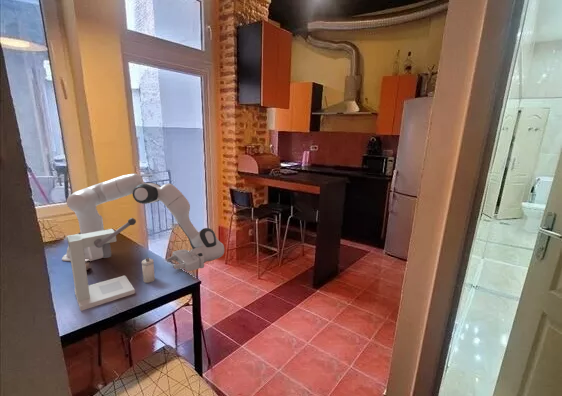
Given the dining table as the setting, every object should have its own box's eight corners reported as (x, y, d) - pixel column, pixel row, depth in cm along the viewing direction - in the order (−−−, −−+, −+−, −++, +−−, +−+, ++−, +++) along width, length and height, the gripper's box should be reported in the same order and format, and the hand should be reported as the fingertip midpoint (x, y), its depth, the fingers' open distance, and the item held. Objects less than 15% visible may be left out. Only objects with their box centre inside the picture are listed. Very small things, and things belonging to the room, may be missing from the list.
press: (133, 276, 140) (126, 210, 132) (143, 290, 128) (137, 219, 121) (75, 293, 125) (63, 219, 117) (80, 310, 113) (68, 230, 105)
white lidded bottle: (141, 283, 135) (139, 260, 132) (145, 277, 140) (143, 255, 137) (153, 282, 135) (151, 260, 133) (156, 277, 140) (154, 255, 138)
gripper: (187, 244, 159) (162, 251, 150) (204, 257, 144) (178, 265, 135) (188, 255, 161) (163, 262, 151) (205, 268, 146) (178, 277, 137)
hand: (170, 263), depth 143 cm, fingers open, 8 cm apart
